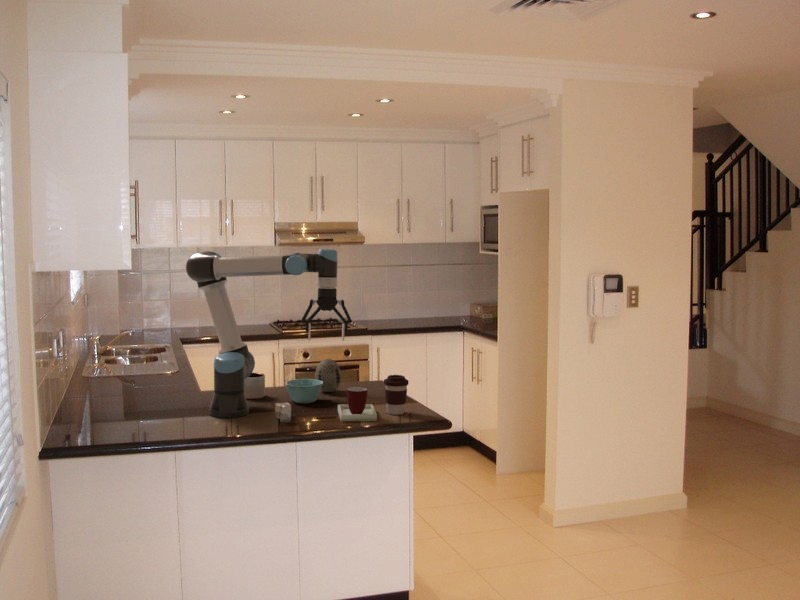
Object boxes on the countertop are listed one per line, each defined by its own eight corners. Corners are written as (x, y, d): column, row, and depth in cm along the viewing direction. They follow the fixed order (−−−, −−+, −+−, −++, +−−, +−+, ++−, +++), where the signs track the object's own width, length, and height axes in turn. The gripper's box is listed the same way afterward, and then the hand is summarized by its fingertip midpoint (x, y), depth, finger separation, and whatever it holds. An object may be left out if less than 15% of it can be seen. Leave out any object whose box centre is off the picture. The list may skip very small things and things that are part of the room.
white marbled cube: (278, 418, 317) (278, 406, 317) (275, 415, 322) (275, 403, 321) (290, 417, 319) (291, 405, 319) (287, 414, 324) (287, 402, 323)
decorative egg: (330, 396, 358) (331, 362, 356) (309, 392, 364) (309, 359, 362) (346, 391, 368) (346, 358, 366) (325, 388, 374) (325, 355, 372)
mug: (347, 409, 330) (348, 385, 329) (367, 410, 330) (368, 385, 329) (345, 416, 320) (346, 391, 318) (366, 416, 320) (366, 391, 318)
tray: (340, 421, 316) (340, 415, 315) (337, 410, 332) (337, 404, 332) (376, 421, 318) (377, 414, 317) (372, 410, 334) (372, 404, 334)
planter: (235, 398, 349) (235, 376, 348) (245, 393, 360) (245, 371, 359) (258, 400, 347) (258, 378, 346) (268, 395, 357) (269, 373, 356)
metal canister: (280, 422, 312) (280, 407, 311) (280, 419, 316) (280, 404, 315) (291, 422, 312) (291, 407, 312) (290, 419, 316) (291, 404, 316)
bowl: (279, 403, 342) (279, 384, 342) (294, 395, 357) (295, 377, 356) (313, 407, 338) (314, 387, 337) (328, 399, 353) (328, 380, 352)
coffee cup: (379, 410, 334) (380, 374, 332) (402, 409, 338) (403, 373, 336) (388, 416, 325) (388, 379, 323) (411, 415, 328) (412, 378, 327)
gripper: (296, 288, 324) (295, 341, 326) (359, 289, 327) (357, 341, 330) (295, 286, 331) (295, 338, 334) (357, 287, 335) (356, 338, 337)
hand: (326, 339), depth 332 cm, fingers open, 13 cm apart
